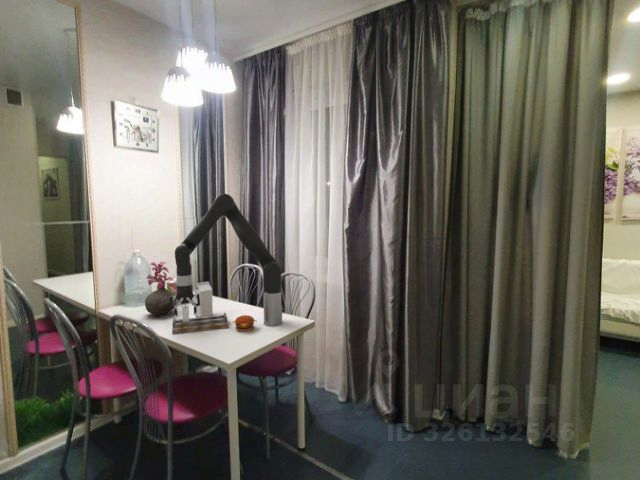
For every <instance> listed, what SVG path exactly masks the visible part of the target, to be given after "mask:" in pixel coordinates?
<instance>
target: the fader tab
mask: <svg viewBox="0 0 640 480" xmlns="http://www.w3.org/2000/svg"><path fill="white" fill-rule="evenodd" d="M189 307H190V305H189V304H184V305H181V314H182V316H181V317H182V318H181V319H182V320H183V322H189V318H190V308H189Z"/></svg>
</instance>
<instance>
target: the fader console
mask: <svg viewBox="0 0 640 480" xmlns="http://www.w3.org/2000/svg"><path fill="white" fill-rule="evenodd" d="M171 325H172V328H171V329H172V330H171V331H172V332H171V333H172V335H176V334H183V333H185V334H186V333H194V332H202V331H212V330H219V329H228V328H229V323H228V315H227V313H226V312H223V314H217V315H215V314H214V315H210V316H205V317H198V316H197V317H196V316H195V317H189V322H183V320H182V318H177V319H176V317H173V318H172V324H171Z"/></svg>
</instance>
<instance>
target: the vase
mask: <svg viewBox="0 0 640 480" xmlns="http://www.w3.org/2000/svg"><path fill="white" fill-rule="evenodd" d="M166 263H167V262H166V261H165V262H164V261H160V262H159V263H156V262H155V261H153V262H151V263H149V264H150V265H151V266H153V267H151V271H152V272H154V275H152V274H151V273H149V274H147V277H146V279H147V280H148V281H147V284H148V285H149V286H151V285H152V284H153V283H157V285H156V290H155V291H152V292H151V293H149V294H148V295H147V296H146V297H145V299H144V304H145V305H144V306H145V310H146V311H147V312H148V313H150V314H151V315H154V316H155V317H164V316H167V315H169V314H170V313H171V312H172V311H174V309H173V308H170V296H171V295H172V296H175V294H174V293H173V292H176V293H177V288H176V287H175V286H173V285H169V286H170V288H171V289H172V291H173V292H171V291H169V290H167V288H166V281H170V280H173V278H172V277H171V276H170V277H169V276H168V275H167V273H166V272H168V273H170V271H169V269H168V267H166V266H164V265H165V264H166ZM161 272H162V273H163V274H161ZM167 276H168V277H167ZM173 281H174V280H173ZM176 303H177V299H176V298H175V299H174V300H173V305H174V306H175V304H176Z"/></svg>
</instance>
